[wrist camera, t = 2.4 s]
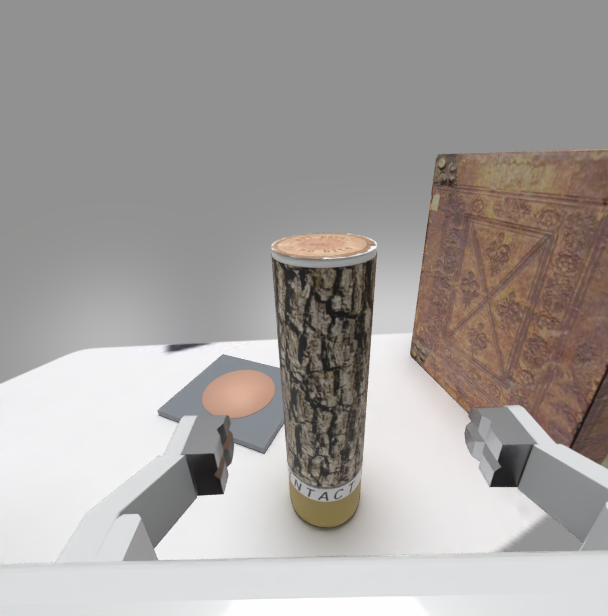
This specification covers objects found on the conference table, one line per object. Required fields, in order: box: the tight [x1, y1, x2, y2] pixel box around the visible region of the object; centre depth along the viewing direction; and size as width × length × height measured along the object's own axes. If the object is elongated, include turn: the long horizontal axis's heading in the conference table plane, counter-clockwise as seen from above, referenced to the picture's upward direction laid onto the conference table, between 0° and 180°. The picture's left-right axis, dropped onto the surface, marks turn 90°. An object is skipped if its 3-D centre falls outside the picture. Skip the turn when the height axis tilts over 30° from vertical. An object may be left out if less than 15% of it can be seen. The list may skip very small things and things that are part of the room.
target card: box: [158, 354, 284, 453], centre depth 44 cm, size 16×14×1 cm
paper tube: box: [271, 233, 377, 527], centre depth 26 cm, size 7×7×25 cm
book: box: [410, 149, 608, 469], centre depth 36 cm, size 25×9×30 cm, turn 14°
